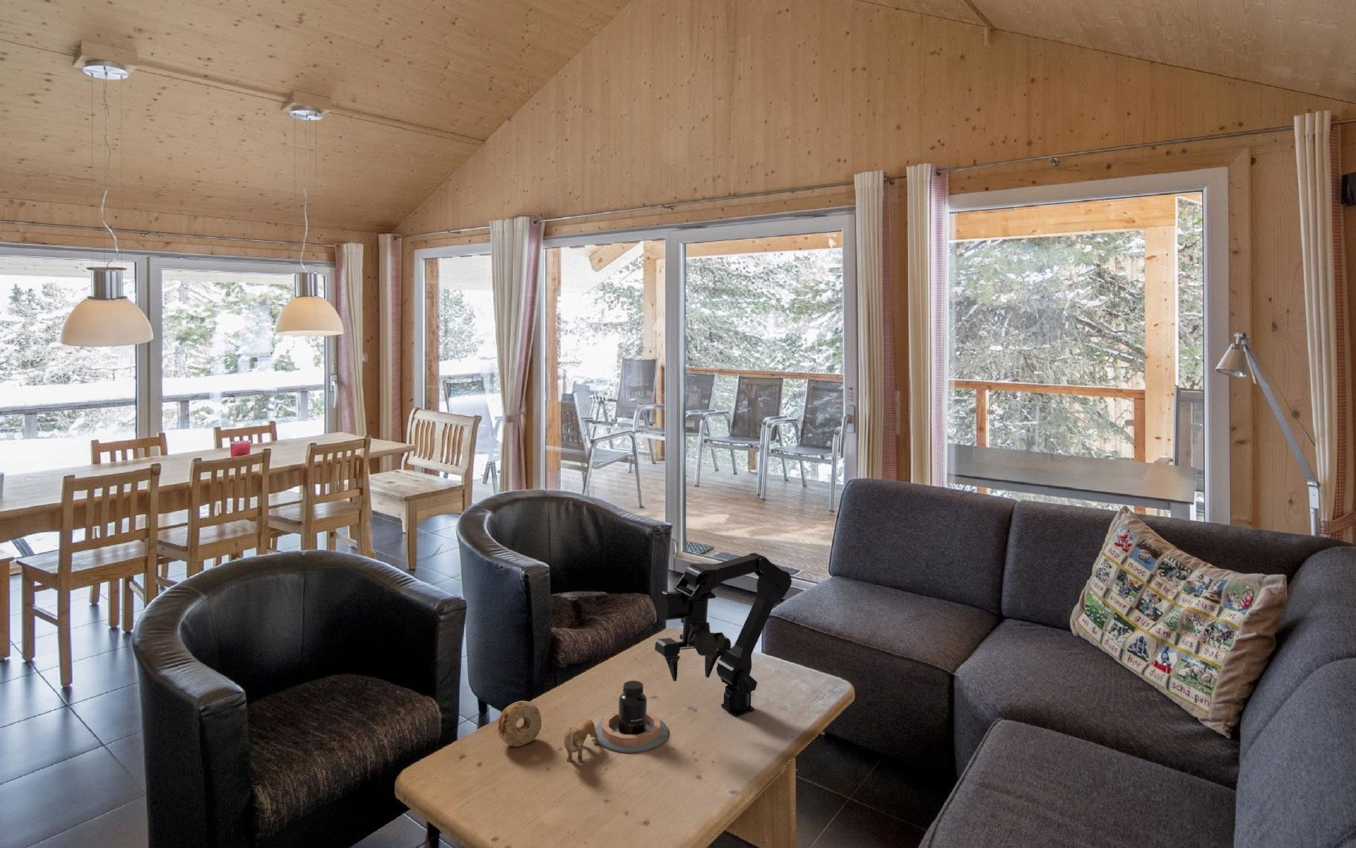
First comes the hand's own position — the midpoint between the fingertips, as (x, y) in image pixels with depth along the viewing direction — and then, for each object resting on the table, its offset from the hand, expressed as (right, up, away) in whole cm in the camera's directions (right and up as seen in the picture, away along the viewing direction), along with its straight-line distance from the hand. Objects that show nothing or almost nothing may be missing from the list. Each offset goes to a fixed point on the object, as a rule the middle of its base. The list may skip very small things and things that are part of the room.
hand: (691, 679), depth 198 cm
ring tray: (-15, -13, -2) cm, 20 cm away
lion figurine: (-26, -14, -12) cm, 31 cm away
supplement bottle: (-14, -12, -2) cm, 19 cm away
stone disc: (-41, -13, -7) cm, 43 cm away
